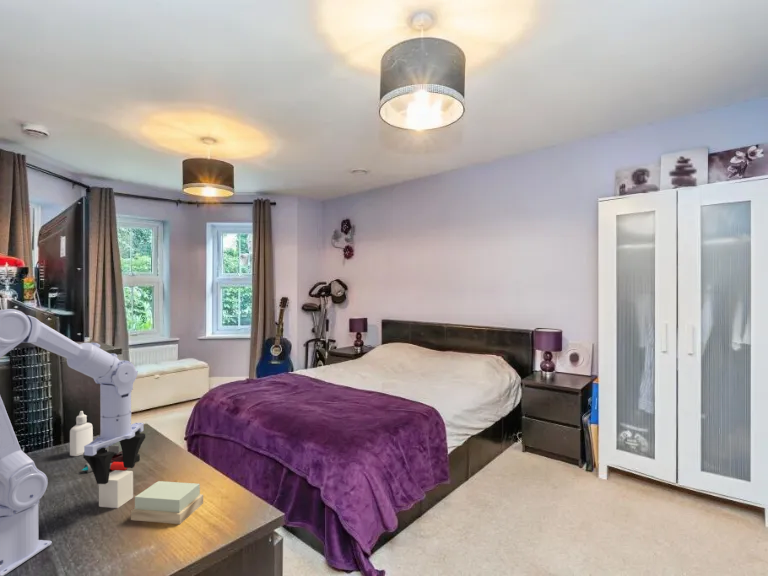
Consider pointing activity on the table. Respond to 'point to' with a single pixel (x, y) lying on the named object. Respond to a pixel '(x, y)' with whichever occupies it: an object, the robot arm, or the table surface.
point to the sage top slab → (167, 496)
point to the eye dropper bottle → (80, 435)
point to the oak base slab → (167, 513)
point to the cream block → (116, 489)
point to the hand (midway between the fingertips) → (116, 474)
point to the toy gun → (113, 460)
